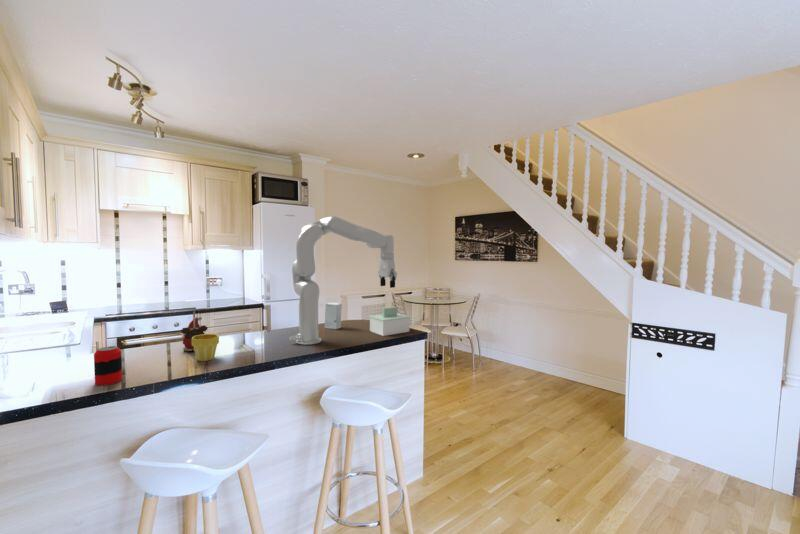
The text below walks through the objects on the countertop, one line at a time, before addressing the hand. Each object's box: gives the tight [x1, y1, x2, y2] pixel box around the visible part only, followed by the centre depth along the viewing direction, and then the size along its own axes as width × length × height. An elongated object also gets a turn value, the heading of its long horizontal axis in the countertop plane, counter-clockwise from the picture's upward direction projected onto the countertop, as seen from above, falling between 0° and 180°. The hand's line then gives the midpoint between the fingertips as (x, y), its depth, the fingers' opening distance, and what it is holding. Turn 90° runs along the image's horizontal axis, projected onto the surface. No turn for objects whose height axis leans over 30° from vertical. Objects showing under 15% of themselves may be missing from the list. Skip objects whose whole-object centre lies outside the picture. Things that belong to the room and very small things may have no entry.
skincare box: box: [324, 302, 343, 330], centre depth 216 cm, size 8×6×15 cm
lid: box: [368, 306, 411, 322], centre depth 208 cm, size 19×15×7 cm
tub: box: [369, 317, 410, 337], centre depth 209 cm, size 18×14×8 cm
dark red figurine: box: [180, 310, 208, 352], centre depth 169 cm, size 11×9×18 cm
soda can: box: [93, 345, 123, 386], centre depth 128 cm, size 8×8×12 cm
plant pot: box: [192, 333, 220, 362], centre depth 155 cm, size 10×10×10 cm
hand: (387, 286), depth 207 cm, fingers open, 9 cm apart
